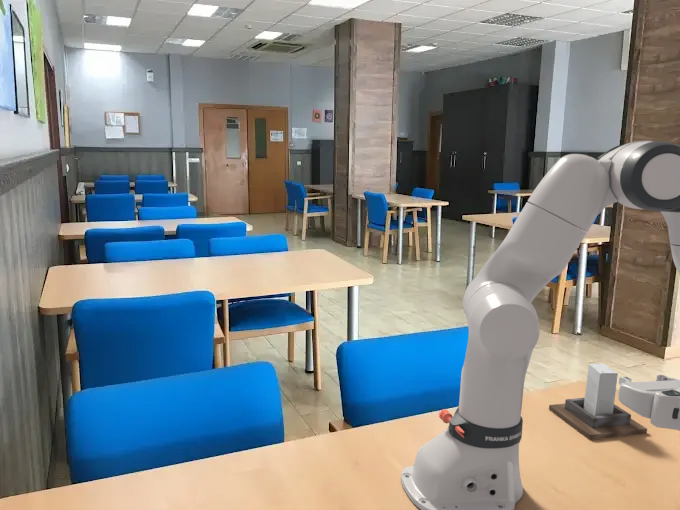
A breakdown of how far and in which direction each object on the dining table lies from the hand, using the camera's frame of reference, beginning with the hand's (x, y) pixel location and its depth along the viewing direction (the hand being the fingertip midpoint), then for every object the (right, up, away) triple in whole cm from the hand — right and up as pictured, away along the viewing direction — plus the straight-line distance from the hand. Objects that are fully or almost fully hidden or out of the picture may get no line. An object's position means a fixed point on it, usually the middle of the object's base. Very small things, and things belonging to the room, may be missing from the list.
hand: (640, 379), depth 119 cm
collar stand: (-3, -13, +14) cm, 20 cm away
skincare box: (-3, -12, +14) cm, 19 cm away
